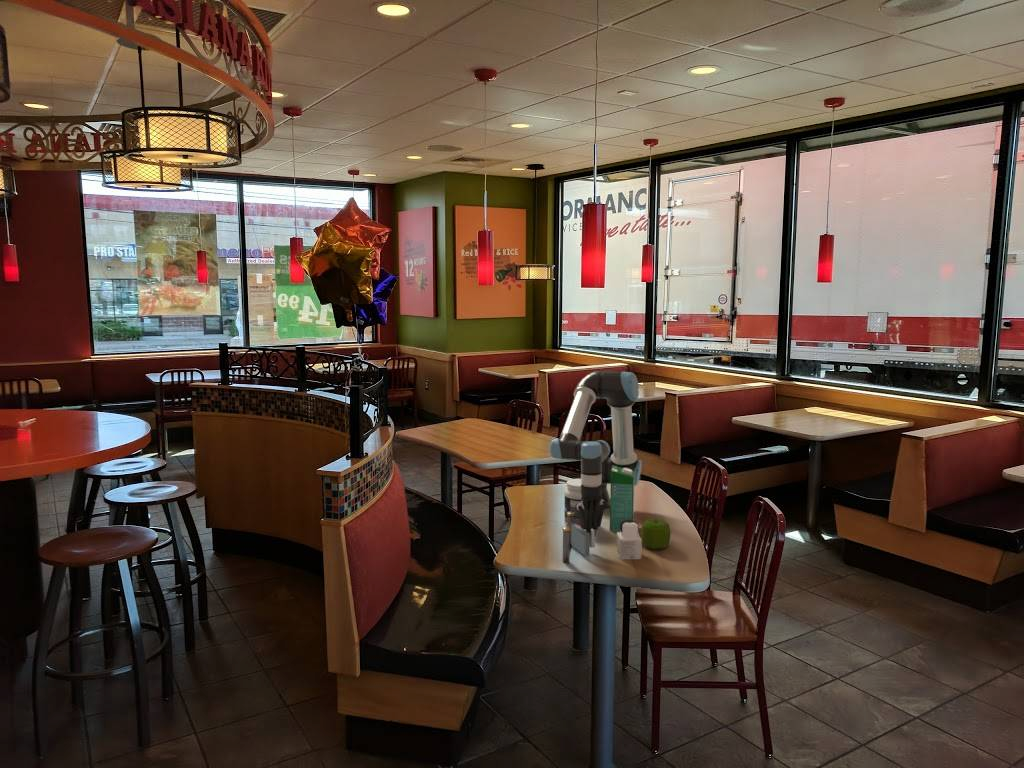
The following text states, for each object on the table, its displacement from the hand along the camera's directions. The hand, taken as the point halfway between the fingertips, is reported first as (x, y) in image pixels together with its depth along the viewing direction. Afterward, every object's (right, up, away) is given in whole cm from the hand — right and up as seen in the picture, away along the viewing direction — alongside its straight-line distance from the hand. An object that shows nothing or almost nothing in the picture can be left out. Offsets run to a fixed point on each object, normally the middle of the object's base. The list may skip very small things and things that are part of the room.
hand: (590, 545), depth 267 cm
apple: (+25, -2, +6) cm, 26 cm away
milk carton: (+16, +1, +27) cm, 31 cm away
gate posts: (-8, -3, -1) cm, 9 cm away
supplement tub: (-1, +2, +30) cm, 30 cm away
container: (+14, -3, -3) cm, 14 cm away
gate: (-4, -1, 0) cm, 4 cm away
